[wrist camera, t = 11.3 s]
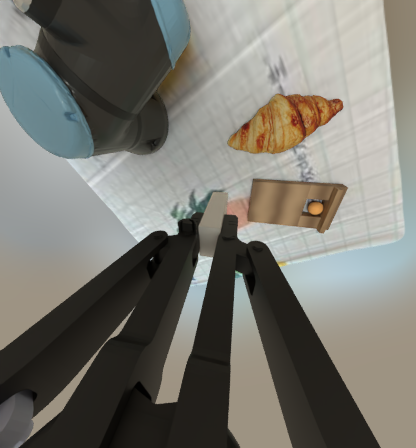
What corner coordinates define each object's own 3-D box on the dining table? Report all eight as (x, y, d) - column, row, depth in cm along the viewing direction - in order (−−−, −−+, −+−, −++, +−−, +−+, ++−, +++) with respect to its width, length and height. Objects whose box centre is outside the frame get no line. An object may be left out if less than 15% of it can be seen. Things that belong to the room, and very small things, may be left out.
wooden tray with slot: (247, 217, 46) (247, 224, 42) (253, 178, 40) (254, 184, 36) (324, 224, 42) (331, 234, 39) (342, 184, 37) (353, 190, 33)
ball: (307, 216, 39) (322, 217, 38) (312, 203, 37) (327, 205, 37) (304, 210, 42) (318, 211, 41) (308, 199, 40) (323, 200, 39)
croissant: (233, 153, 42) (234, 174, 37) (220, 113, 34) (220, 134, 30) (329, 121, 34) (344, 142, 30) (341, 60, 26) (364, 77, 22)
